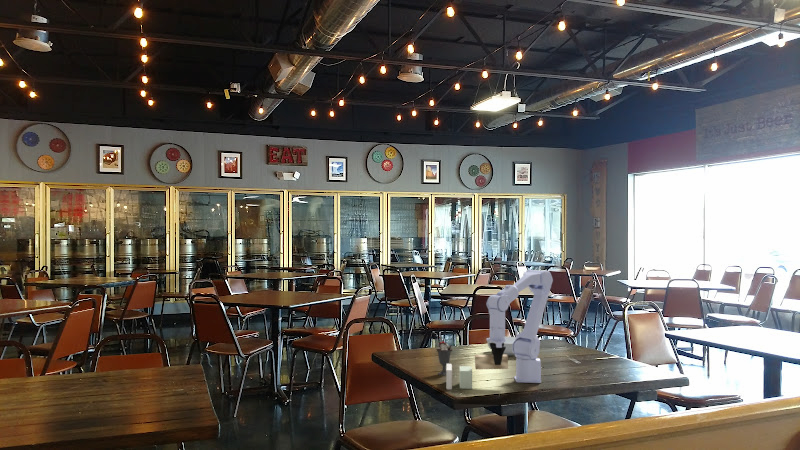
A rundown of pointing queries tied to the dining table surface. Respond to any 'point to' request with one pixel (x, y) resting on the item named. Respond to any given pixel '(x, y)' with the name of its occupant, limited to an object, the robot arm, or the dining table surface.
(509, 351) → the serving bowl
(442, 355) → the sundae
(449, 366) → the wall
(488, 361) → the peg
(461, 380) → the block
